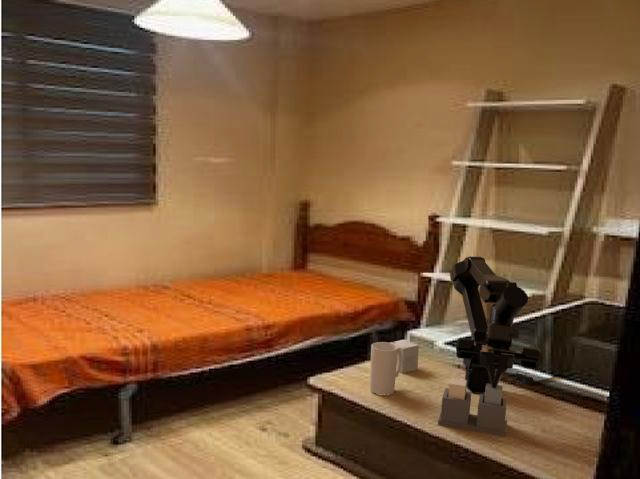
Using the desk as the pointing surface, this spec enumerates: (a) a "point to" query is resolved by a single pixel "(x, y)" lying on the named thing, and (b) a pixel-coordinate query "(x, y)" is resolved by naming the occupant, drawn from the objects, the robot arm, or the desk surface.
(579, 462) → the desk surface
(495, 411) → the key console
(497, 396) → the slate key
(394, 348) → the mug
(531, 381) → the multiport hub
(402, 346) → the skincare box
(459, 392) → the beige block
